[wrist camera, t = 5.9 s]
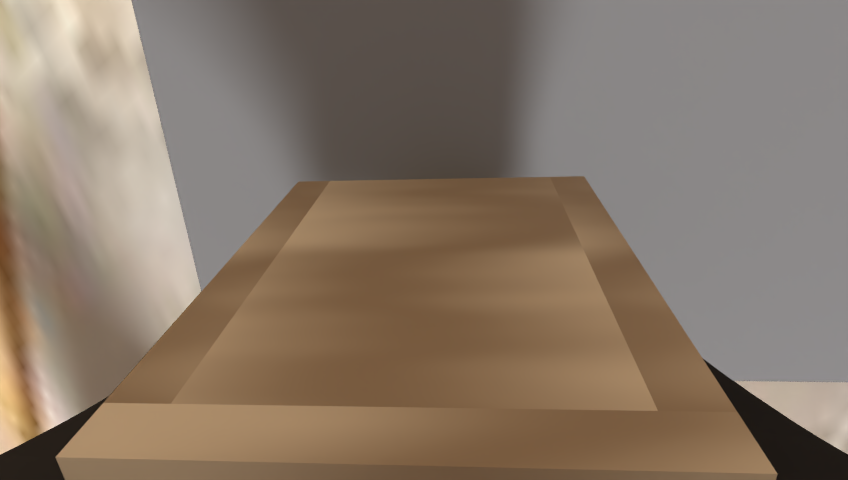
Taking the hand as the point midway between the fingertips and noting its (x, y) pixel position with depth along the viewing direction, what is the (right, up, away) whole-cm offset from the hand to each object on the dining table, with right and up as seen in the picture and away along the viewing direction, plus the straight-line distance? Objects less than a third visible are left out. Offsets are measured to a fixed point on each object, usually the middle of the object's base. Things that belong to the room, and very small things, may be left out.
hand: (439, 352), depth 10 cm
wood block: (0, +1, +1) cm, 2 cm away
